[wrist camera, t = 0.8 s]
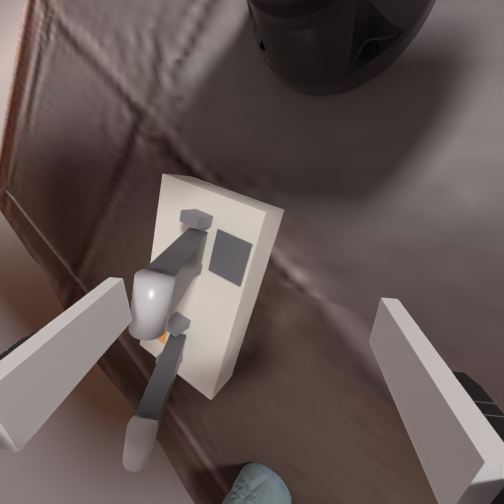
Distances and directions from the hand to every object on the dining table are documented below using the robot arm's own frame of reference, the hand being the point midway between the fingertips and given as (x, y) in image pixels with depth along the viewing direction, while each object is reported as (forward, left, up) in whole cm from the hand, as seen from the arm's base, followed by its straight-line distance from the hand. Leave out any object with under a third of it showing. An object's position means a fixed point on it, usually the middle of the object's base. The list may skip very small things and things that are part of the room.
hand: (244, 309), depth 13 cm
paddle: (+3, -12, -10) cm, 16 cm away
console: (+10, -12, -17) cm, 23 cm away
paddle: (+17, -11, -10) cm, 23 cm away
